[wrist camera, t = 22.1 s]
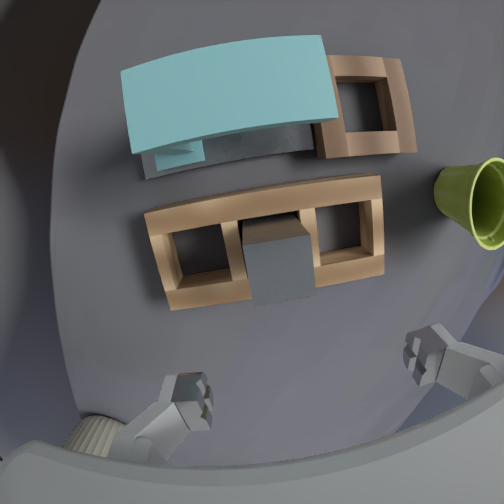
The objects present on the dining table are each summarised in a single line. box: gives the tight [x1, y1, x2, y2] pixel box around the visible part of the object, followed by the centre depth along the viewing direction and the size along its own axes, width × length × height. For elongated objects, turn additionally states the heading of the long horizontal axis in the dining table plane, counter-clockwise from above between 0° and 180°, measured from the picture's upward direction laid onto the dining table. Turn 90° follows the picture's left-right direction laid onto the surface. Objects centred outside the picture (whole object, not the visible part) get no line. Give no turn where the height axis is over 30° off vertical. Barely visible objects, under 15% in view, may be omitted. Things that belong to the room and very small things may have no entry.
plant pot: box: [434, 158, 504, 250], centre depth 24 cm, size 9×9×9 cm
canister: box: [62, 415, 126, 457], centre depth 30 cm, size 18×18×21 cm
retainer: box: [121, 35, 339, 171], centre depth 18 cm, size 13×7×12 cm, turn 100°
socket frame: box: [141, 55, 417, 180], centre depth 24 cm, size 27×10×3 cm, turn 100°
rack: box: [144, 173, 384, 310], centre depth 27 cm, size 10×22×4 cm, turn 100°
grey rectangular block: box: [242, 211, 316, 306], centre depth 24 cm, size 5×5×10 cm
